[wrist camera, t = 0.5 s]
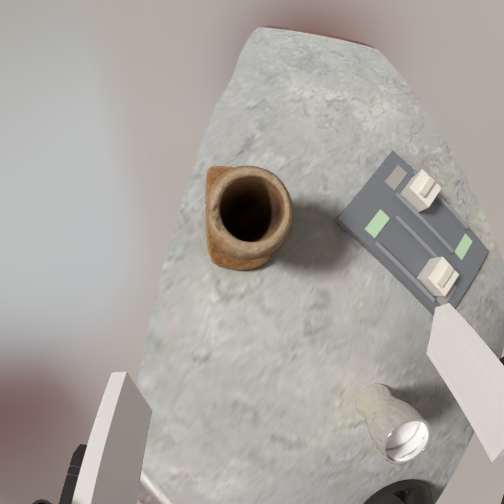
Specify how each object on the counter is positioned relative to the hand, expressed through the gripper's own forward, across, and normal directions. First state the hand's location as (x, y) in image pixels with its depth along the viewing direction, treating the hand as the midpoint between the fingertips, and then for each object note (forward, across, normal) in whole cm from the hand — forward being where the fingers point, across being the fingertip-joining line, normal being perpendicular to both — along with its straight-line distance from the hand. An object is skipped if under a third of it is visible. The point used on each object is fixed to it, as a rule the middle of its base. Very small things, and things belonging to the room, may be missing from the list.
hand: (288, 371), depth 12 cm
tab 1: (+32, -25, +6) cm, 41 cm away
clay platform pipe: (+36, +1, +6) cm, 36 cm away
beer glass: (+19, -13, +33) cm, 40 cm away
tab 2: (+26, -25, +17) cm, 39 cm away
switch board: (+31, -25, +12) cm, 41 cm away
